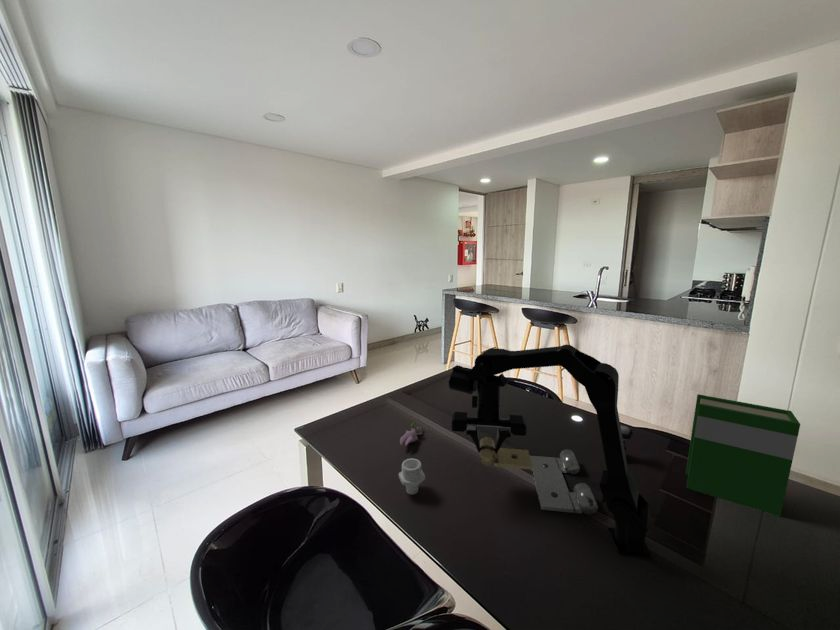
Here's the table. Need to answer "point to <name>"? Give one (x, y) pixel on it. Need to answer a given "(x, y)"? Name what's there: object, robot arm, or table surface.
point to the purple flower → (411, 435)
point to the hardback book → (741, 452)
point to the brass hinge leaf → (503, 456)
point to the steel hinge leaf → (561, 485)
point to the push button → (625, 434)
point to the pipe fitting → (411, 475)
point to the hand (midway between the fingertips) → (487, 452)
